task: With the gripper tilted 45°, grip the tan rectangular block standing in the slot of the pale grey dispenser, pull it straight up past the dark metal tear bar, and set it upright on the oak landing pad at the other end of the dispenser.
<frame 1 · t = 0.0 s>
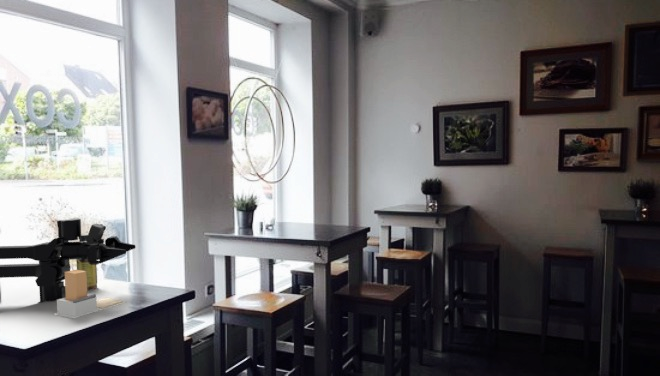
hand: (130, 249, 161), 17 cm above the table, tool horizontal, fingers open, 9 cm apart
sauce bottle: (87, 289, 175), on the table
tan rectangular block: (77, 311, 145), point 1 cm above the table, touching dispenser
dispenser: (91, 310, 149), on the table
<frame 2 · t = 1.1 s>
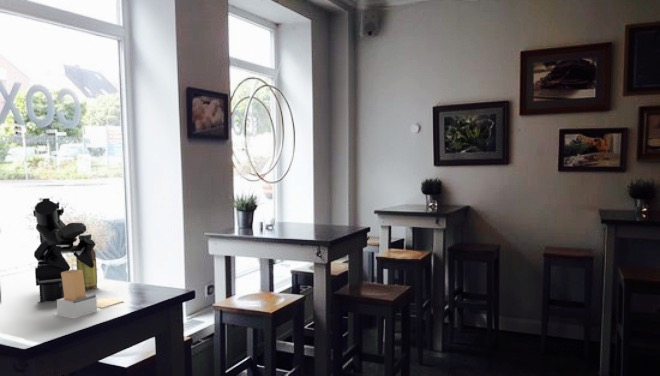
hand: (81, 268, 150), 13 cm above the table, tool tilted 50°, fingers open, 9 cm apart
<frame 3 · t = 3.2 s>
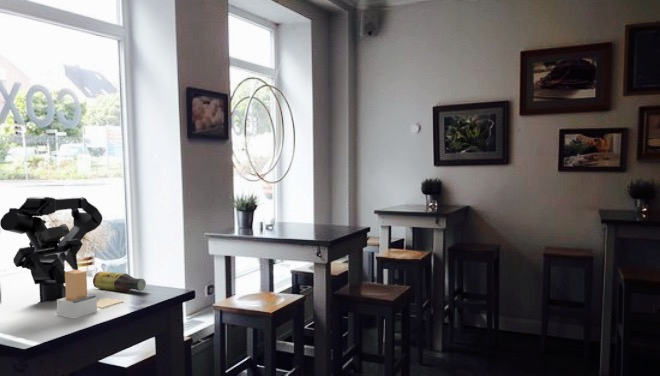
hand: (62, 273, 147), 12 cm above the table, tool tilted 45°, fingers open, 9 cm apart
sauce bottle: (97, 279, 176), point 3 cm above the table
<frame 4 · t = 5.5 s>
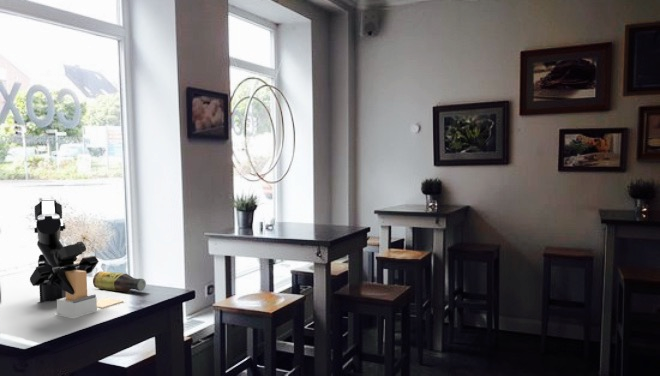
hand: (79, 292, 144), 7 cm above the table, tool tilted 45°, fingers closed on tan rectangular block, 3 cm apart
tan rectangular block: (77, 311, 145), point 1 cm above the table, touching dispenser, gripper
everything else where it was.
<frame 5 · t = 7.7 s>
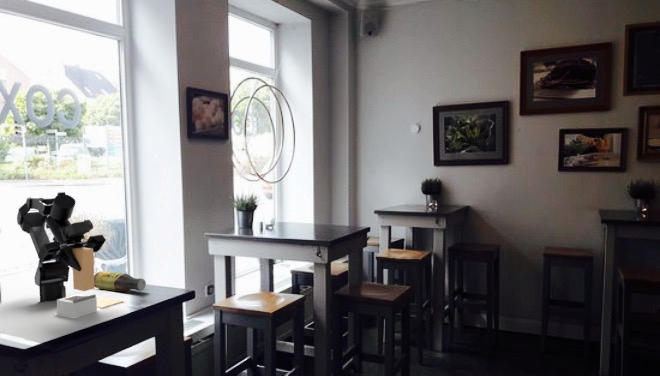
hand: (86, 269, 146), 13 cm above the table, tool tilted 45°, fingers closed on tan rectangular block, 3 cm apart
tan rectangular block: (84, 288, 147), point 7 cm above the table, touching gripper
everything else where it was.
when the fingers open (8 cm above the table, at t = 9.8 s): tan rectangular block stays where it is, resting on dispenser.
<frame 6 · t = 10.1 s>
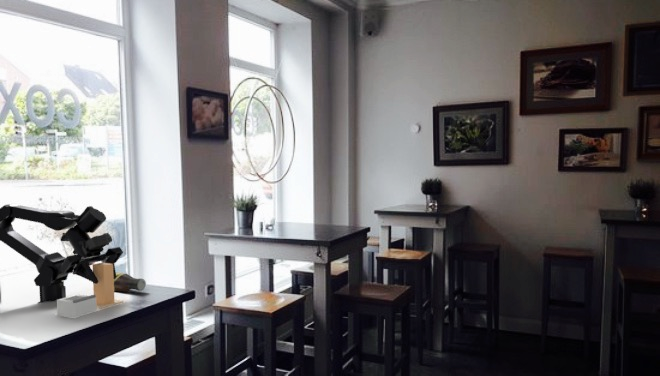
hand: (106, 280, 152), 8 cm above the table, tool tilted 45°, fingers open, 6 cm apart
tan rectangular block: (104, 302, 153), point 1 cm above the table, touching dispenser
everything else where it was.
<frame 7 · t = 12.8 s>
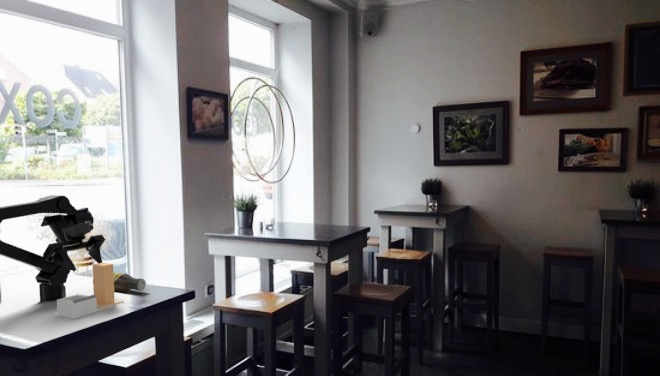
hand: (88, 267, 156), 12 cm above the table, tool tilted 45°, fingers open, 9 cm apart
nothing on the table moved.
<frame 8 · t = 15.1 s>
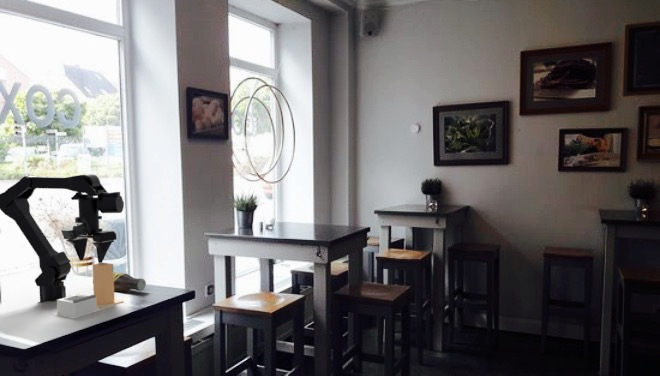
hand: (90, 261, 159), 13 cm above the table, tool pointing down, fingers open, 9 cm apart
nothing on the table moved.
at the end: tan rectangular block 0.1 cm from the target spot, point 1.4 cm above the table; tan rectangular block tilted 0°; the gripper is holding nothing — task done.
